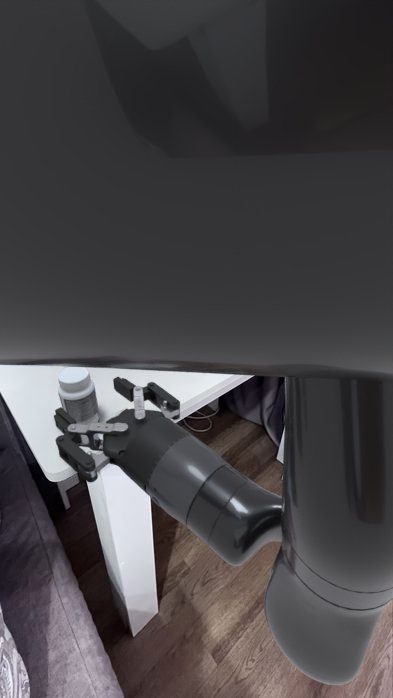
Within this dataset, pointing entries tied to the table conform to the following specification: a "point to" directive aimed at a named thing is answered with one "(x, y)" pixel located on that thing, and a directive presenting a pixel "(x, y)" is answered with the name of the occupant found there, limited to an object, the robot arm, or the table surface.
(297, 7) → the robot arm
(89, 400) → the pill bottle
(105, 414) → the table surface
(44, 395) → the table surface
